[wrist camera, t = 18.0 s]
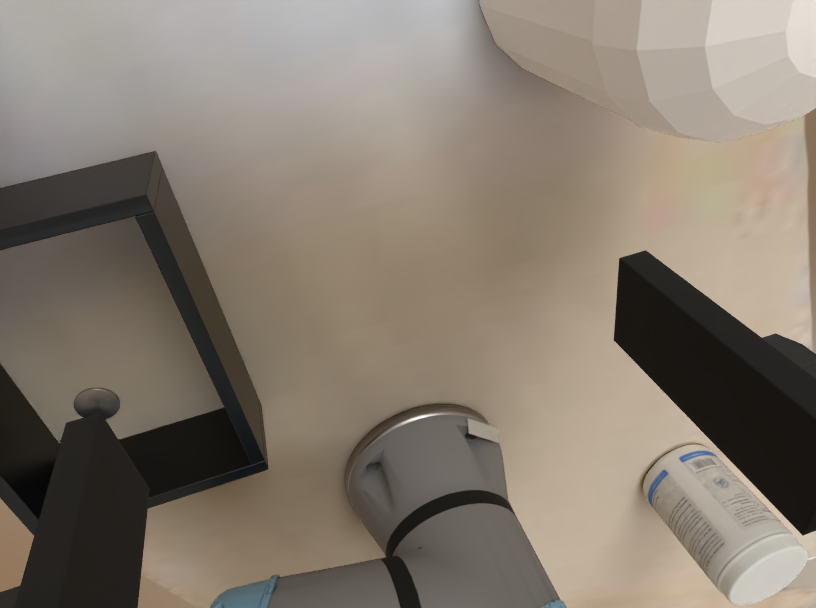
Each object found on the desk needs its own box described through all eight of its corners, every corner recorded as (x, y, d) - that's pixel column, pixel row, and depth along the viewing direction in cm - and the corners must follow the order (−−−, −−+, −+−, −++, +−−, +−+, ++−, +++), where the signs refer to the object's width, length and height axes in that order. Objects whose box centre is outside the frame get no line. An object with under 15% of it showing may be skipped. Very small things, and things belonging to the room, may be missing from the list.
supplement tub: (658, 506, 75) (744, 617, 63) (626, 480, 69) (712, 595, 58) (721, 459, 73) (821, 564, 61) (692, 428, 68) (796, 536, 56)
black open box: (261, 405, 48) (269, 469, 43) (60, 467, 46) (40, 543, 41) (155, 150, 36) (146, 194, 30) (-129, 218, 34) (-197, 279, 28)
